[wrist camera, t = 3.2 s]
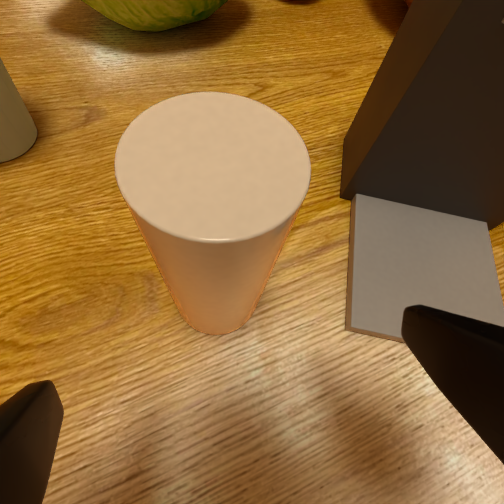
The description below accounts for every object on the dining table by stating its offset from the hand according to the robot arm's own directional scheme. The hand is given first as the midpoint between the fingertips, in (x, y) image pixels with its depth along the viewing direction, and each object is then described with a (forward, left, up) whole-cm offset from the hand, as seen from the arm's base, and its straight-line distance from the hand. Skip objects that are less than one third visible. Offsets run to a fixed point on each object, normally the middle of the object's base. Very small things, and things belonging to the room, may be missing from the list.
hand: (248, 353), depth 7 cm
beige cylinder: (+2, +5, -12) cm, 13 cm away
